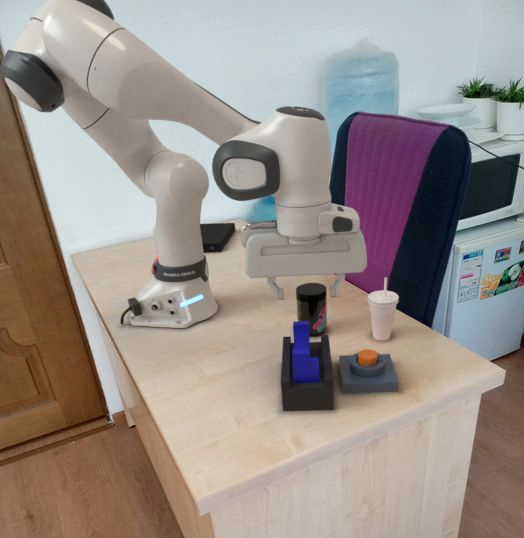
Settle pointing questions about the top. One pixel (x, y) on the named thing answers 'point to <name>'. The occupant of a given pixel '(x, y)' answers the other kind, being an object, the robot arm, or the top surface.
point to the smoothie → (382, 312)
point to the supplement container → (312, 307)
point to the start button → (367, 357)
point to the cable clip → (303, 355)
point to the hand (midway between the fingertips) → (306, 297)
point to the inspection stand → (307, 393)
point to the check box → (367, 375)
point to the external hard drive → (216, 235)
